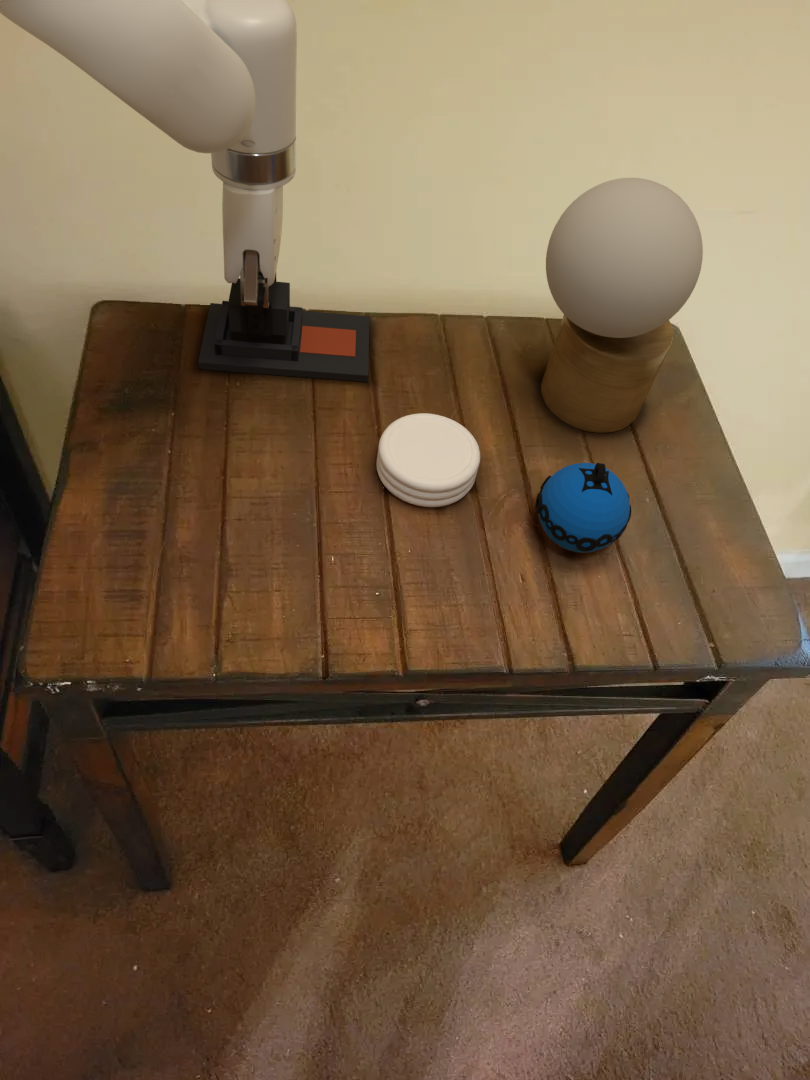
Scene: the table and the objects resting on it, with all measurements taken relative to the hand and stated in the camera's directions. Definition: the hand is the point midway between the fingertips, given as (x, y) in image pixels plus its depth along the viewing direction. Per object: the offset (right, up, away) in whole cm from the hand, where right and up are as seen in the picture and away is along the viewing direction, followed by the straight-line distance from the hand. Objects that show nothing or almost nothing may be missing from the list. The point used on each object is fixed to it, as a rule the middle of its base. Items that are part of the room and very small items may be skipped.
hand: (259, 316), depth 88 cm
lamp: (+34, -9, +3) cm, 36 cm away
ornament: (+32, -24, -8) cm, 40 cm away
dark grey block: (0, 0, 0) cm, 1 cm away
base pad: (+3, -2, +3) cm, 5 cm away
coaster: (+18, -17, -6) cm, 25 cm away
